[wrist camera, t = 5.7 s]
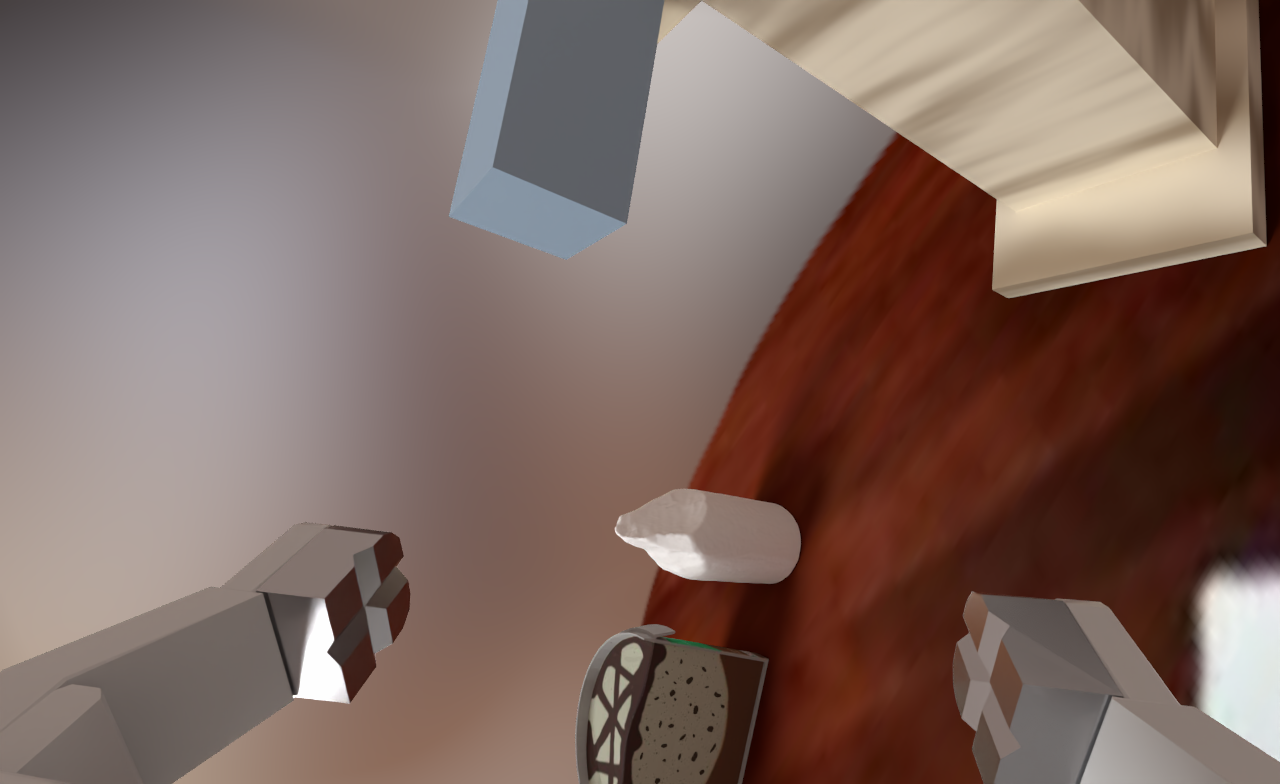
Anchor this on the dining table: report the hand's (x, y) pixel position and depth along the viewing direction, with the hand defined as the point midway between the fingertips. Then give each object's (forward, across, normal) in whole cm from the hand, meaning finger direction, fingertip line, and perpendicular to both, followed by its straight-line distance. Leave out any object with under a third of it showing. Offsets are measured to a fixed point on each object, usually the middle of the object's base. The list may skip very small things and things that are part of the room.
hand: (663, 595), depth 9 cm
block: (+13, -2, +12) cm, 18 cm away
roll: (+30, +3, -20) cm, 37 cm away
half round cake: (+26, +1, -31) cm, 40 cm away
